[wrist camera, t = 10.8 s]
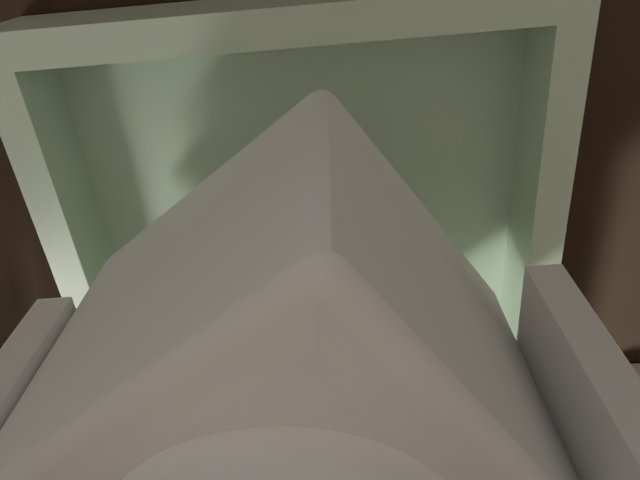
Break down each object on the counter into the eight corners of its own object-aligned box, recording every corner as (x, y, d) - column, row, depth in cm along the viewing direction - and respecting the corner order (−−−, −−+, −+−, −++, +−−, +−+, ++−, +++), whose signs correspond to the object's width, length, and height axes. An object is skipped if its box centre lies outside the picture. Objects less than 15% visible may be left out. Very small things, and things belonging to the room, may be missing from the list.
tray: (144, 400, 20) (123, 459, 18) (19, 16, 14) (-39, 35, 12) (511, 379, 19) (534, 437, 17) (557, -33, 13) (603, -22, 11)
